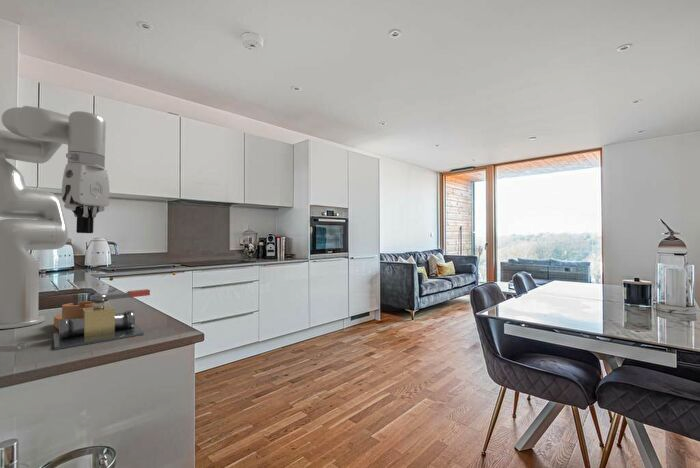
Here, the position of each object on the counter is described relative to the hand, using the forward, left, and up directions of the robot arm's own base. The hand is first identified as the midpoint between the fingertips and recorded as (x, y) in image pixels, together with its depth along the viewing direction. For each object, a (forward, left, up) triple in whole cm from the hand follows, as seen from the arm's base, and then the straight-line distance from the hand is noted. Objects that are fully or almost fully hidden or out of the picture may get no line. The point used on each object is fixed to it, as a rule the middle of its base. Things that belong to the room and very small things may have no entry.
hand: (84, 232), depth 86 cm
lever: (-3, +8, -18) cm, 20 cm away
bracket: (-16, -1, -27) cm, 32 cm away
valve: (-3, +3, -28) cm, 28 cm away
